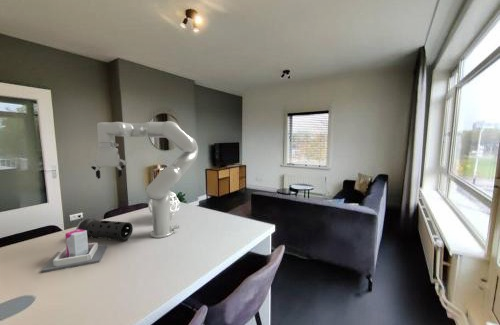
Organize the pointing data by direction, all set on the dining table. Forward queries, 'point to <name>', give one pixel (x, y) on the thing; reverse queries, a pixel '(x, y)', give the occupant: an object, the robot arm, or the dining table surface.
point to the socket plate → (75, 258)
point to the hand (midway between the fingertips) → (109, 177)
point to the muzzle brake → (106, 229)
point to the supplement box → (76, 243)
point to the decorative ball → (174, 200)
